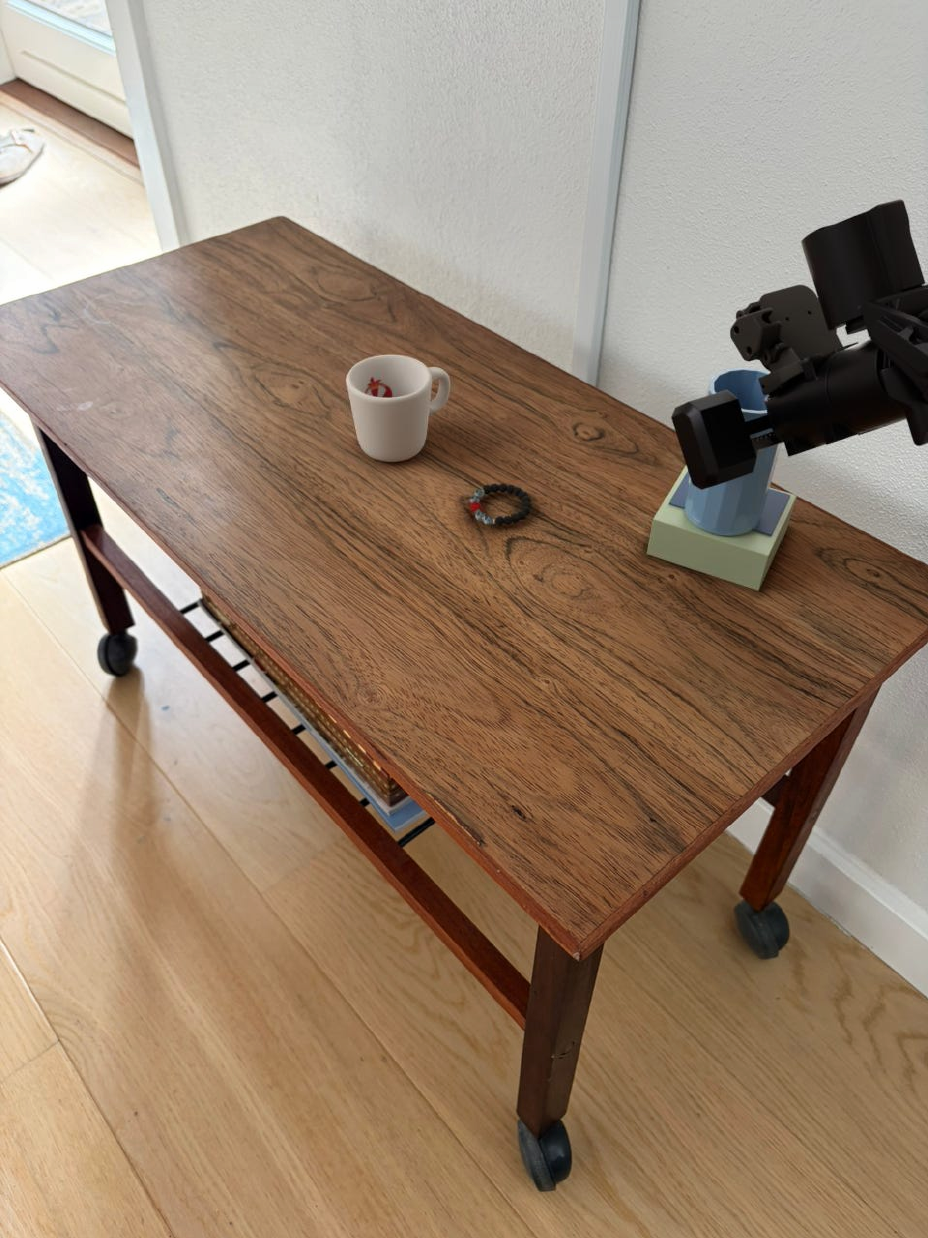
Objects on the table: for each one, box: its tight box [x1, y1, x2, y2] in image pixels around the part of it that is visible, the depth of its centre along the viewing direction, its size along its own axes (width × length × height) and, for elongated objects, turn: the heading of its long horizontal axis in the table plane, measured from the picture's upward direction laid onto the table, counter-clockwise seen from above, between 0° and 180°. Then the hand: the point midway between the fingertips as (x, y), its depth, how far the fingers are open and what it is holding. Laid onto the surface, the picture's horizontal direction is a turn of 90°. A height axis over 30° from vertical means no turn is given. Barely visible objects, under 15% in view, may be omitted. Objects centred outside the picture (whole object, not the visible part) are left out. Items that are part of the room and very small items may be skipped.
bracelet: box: [469, 482, 533, 527], centre depth 93 cm, size 6×6×1 cm
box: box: [646, 465, 798, 592], centre depth 89 cm, size 10×9×4 cm
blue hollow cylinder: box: [684, 366, 783, 536], centre depth 83 cm, size 6×6×12 cm
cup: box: [345, 354, 451, 463], centre depth 98 cm, size 11×8×8 cm
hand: (726, 438), depth 83 cm, fingers open, 7 cm apart
